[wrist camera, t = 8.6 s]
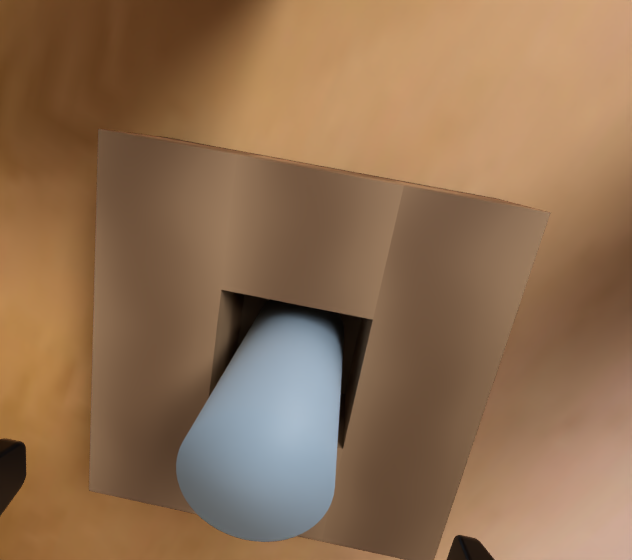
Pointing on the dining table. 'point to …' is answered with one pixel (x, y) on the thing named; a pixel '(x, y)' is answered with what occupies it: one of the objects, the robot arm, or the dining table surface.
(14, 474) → the robot arm
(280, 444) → the pin
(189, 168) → the bore block
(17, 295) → the dining table surface
